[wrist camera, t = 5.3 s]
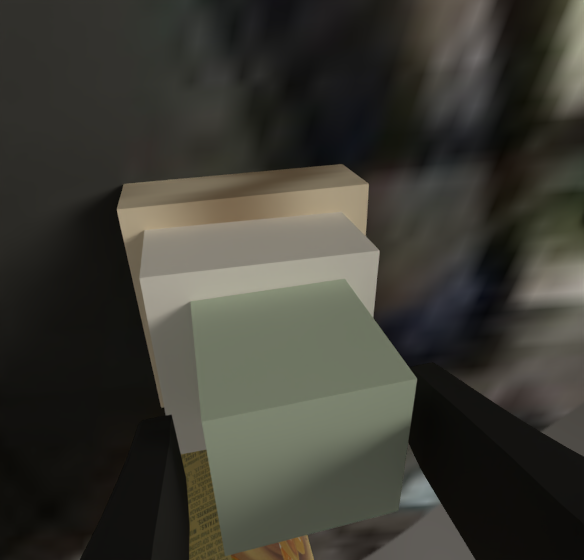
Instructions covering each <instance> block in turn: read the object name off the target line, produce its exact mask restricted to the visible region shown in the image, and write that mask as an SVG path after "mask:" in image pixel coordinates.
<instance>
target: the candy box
mask: <svg viewBox="0 0 584 560" xmlns="http://www.w3.org/2000/svg"><path fill="white" fill-rule="evenodd" d="M181 457H182V462H183V466H184V471H185V475H186V482H187V495H188V508H189V522H190V539H189V560H314V558H313V555H312V551H311V547H310V543H309V540H308V536H307V535H305V536H301V537H297V538H293V539H289V540H285V541H282V542H278V543H274V544H270V545H266V546H262V547H259V548H255V549H251V550H247V551H243V552H239V553H236V554H232V555H228V556H225V553H224V547H223V541H222V535H221V530H220V524H219V518H218V513H217V507H216V501H215V496H214V490H213V484H212V478H211V473H210V467H209V461H208V456H207V450H201V451H196V452H191V453H186V454H181Z"/></svg>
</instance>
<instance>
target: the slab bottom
mask: <svg viewBox="0 0 584 560" xmlns="http://www.w3.org/2000/svg"><path fill="white" fill-rule="evenodd" d="M368 190H369V184H368V183H367V182H366V181H364V180H363V179H362V178H360V177H359V176H357V175H356V174H355V173H353V172H352V171H351V170H349V169H348V168H347V167H345V166H344V165H343V164H339V165H328V166H317V167H306V168H295V169H284V170H273V171H262V172H251V173H240V174H229V175H218V176H207V177H196V178H185V179H174V180H163V181H152V182H141V183H130V184H124V185H123V189H122V192H121V196H120V199H119V203H118V207H117V213H118V218H119V222H120V227H121V231H122V236H123V240H124V244H125V249H126V253H127V258H128V262H129V267H130V271H131V276H132V280H133V284H134V289H135V293H136V298H137V302H138V307H139V311H140V316H141V320H142V324H143V329H144V333H145V338H146V342H147V347H148V351H149V355H150V360H151V364H152V369H153V373H154V378H155V382H156V387H157V391H158V395H159V400H160V404H161V408H163V407H164V403H163V398H162V393H161V388H160V383H159V377H158V372H157V367H156V362H155V357H154V351H153V346H152V341H151V336H150V331H149V325H148V320H147V315H146V310H145V305H144V299H143V294H142V289H141V284H140V279H139V277H140V268H141V258H142V249H143V239H144V230H151V229H161V228H172V227H183V226H193V225H204V224H215V223H226V222H236V221H247V220H258V219H269V218H279V217H290V216H301V215H311V214H322V213H333V212H342V213H343V214H344V215H345V216H346V217H347V218H348V219H349V220H350V221H351V222H352V223H353V224H354V225H355V226H356V227H357V228H358V229H359V230H360V231H361V232H362V233H363V234H364V235H365V236H366V224H367V207H368Z"/></svg>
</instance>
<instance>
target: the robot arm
mask: <svg viewBox="0 0 584 560" xmlns="http://www.w3.org/2000/svg"><path fill="white" fill-rule="evenodd" d="M410 370H411V371H412V372H413V374H414V375H415V376H416V378H417V383H416V391H415V398H414V405H413V412H412V419H411V426H410V433H409V440H408V442H409V445H410V447H411V449H412V451H413V454H414V456H415V458H416V460H417V462H418V464H419V466H420V468H421V470H422V472H423V474H424V475H425V477H426V479H427V480H428V482H429V484H430V485H431V487H432V489H433V490H434V492H435V494H436V495H437V497H438V499H439V500H440V502H441V504H442V505H443V507H444V509H445V510H446V512H447V514H448V515H449V517H450V518H451V520H452V522H453V523H454V525H455V527H456V528H457V530H458V531H459V533H460V535H461V536H462V538H463V540H464V541H465V543H466V545H467V546H468V548H469V550H470V551H471V553H472V555H473V556H474V558H475V559H476V560H584V457H583V456H582V455H580V454H578V453H576V452H574V451H572V450H571V449H569V448H567V447H565V446H563V445H562V444H560V443H558V442H557V441H555V440H553V439H552V438H550V437H548V436H547V435H545V434H543V433H541V432H540V431H538V430H536V429H535V428H533V427H532V426H530V425H528V424H527V423H525V422H523V421H522V420H520V419H519V418H517V417H515V416H514V415H512V414H511V413H509V412H508V411H506V410H504V409H503V408H501V407H500V406H498V405H497V404H495V403H494V402H492V401H491V400H489V399H488V398H486V397H485V396H483V395H482V394H480V393H479V392H477V391H476V390H474V389H473V388H471V387H470V386H468V385H467V384H465V383H464V382H462V381H461V380H459V379H458V378H456V377H455V376H453V375H452V374H450V373H449V372H447V371H446V370H444V369H443V368H441V367H440V366H438V365H436V364H435V363H433V362H432V363H427V364H422V365H417V366H412V367H410ZM189 539H190V522H189V508H188V495H187V482H186V475H185V471H184V466H183V462H182V457H181V453H180V449H179V444H178V440H177V436H176V431H175V427H174V423H173V418H172V414H171V415H166V416H161V417H156V418H151V419H146V420H142V421H141V422H140V424H139V425H138V427H137V430H136V433H135V436H134V439H133V442H132V445H131V448H130V451H129V453H128V456H127V459H126V461H125V464H124V466H123V469H122V471H121V474H120V476H119V479H118V481H117V483H116V486H115V488H114V490H113V492H112V494H111V497H110V499H109V501H108V503H107V506H106V508H105V510H104V512H103V515H102V517H101V519H100V521H99V523H98V525H97V527H96V529H95V531H94V533H93V535H92V537H91V539H90V541H89V543H88V545H87V547H86V549H85V551H84V553H83V555H82V557H81V559H80V560H189Z"/></svg>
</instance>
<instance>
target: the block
mask: <svg viewBox="0 0 584 560" xmlns="http://www.w3.org/2000/svg"><path fill="white" fill-rule="evenodd" d="M190 304H191V315H192V325H193V336H194V347H195V357H196V368H197V378H198V389H199V400H200V410H201V421H202V427H203V433H204V439H205V444H206V450H207V456H208V461H209V467H210V473H211V478H212V484H213V490H214V496H215V501H216V507H217V513H218V518H219V524H220V530H221V535H222V541H223V547H224V553H225V556H228V555H232V554H236V553H239V552H243V551H247V550H251V549H255V548H259V547H262V546H266V545H270V544H274V543H278V542H282V541H285V540H289V539H293V538H297V537H301V536H305V535H308V534H312V533H316V532H320V531H324V530H328V529H331V528H335V527H339V526H343V525H347V524H351V523H354V522H358V521H362V520H366V519H370V518H374V517H377V516H381V515H385V514H389V513H393V512H397V511H398V510H399V503H400V496H401V489H402V482H403V475H404V468H405V461H406V454H407V447H408V440H409V433H410V426H411V419H412V412H413V405H414V398H415V391H416V383H417V378H416V376H415V375H414V374H413V372H412V371H411V370H410V368H409V367H408V365H407V364H406V363H405V361H404V360H403V359H402V357H401V356H400V354H399V353H398V352H397V350H396V349H395V347H394V346H393V345H392V343H391V342H390V341H389V339H388V338H387V336H386V335H385V334H384V332H383V331H382V329H381V328H380V327H379V325H378V324H377V323H376V321H375V320H374V318H373V317H372V316H371V314H370V313H369V312H368V310H367V309H366V307H365V306H364V305H363V303H362V302H361V300H360V299H359V298H358V296H357V295H356V294H355V292H354V291H353V289H352V288H351V287H350V285H349V284H348V283H347V281H346V280H345V279H340V280H333V281H326V282H320V283H313V284H306V285H299V286H293V287H286V288H279V289H272V290H266V291H259V292H252V293H245V294H238V295H232V296H225V297H218V298H211V299H205V300H198V301H191V302H190Z"/></svg>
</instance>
